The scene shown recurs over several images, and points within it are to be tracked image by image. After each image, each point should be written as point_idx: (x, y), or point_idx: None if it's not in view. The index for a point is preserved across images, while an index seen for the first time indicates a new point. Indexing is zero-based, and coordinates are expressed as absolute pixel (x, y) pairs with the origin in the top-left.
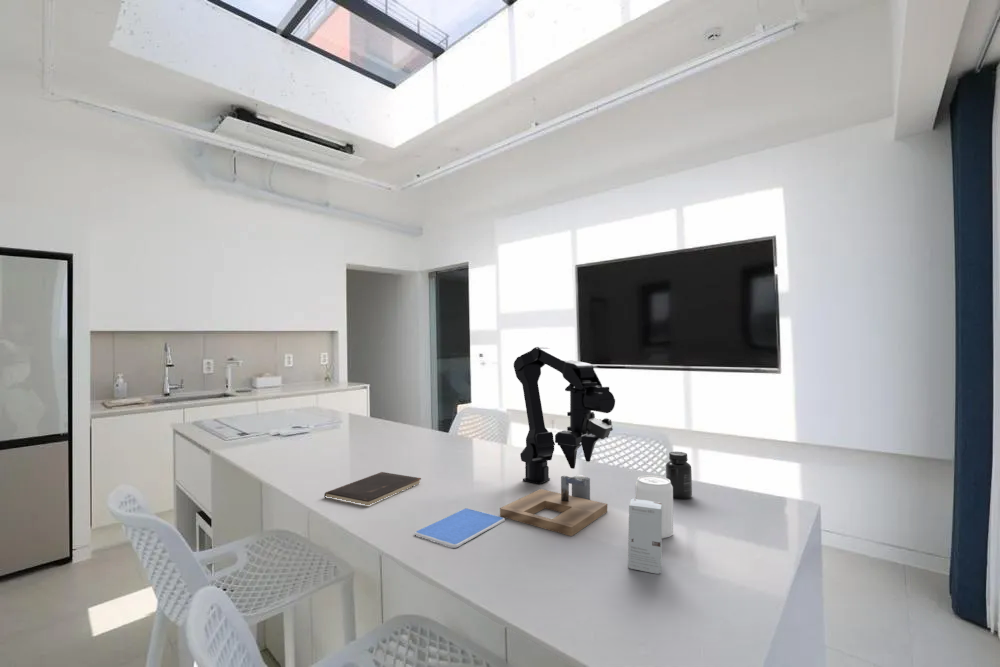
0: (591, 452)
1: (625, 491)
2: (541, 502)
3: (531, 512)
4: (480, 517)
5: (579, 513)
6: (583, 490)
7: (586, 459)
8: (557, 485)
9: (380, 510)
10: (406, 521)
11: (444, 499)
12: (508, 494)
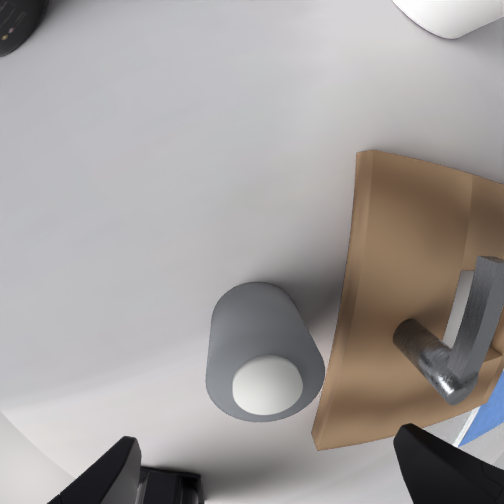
0: (99, 490)
1: (36, 191)
2: None
3: None
4: (494, 401)
5: (494, 220)
6: (301, 319)
7: (138, 463)
8: (160, 440)
9: None
10: (493, 444)
11: (406, 494)
12: (335, 476)
